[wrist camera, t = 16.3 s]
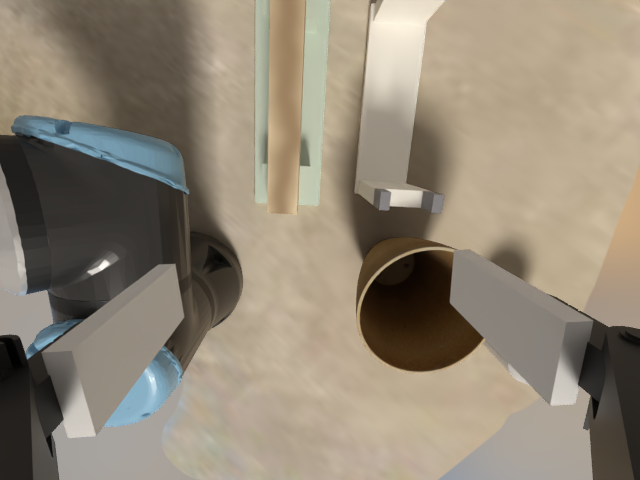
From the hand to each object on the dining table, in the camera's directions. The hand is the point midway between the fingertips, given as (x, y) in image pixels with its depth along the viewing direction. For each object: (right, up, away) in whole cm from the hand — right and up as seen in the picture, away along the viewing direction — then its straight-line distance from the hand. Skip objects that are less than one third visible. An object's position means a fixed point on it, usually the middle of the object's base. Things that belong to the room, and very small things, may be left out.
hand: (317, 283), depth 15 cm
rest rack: (-4, +20, +27) cm, 34 cm away
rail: (-4, +19, +22) cm, 29 cm away
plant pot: (+11, -1, +33) cm, 35 cm away
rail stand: (+9, +20, +27) cm, 35 cm away
